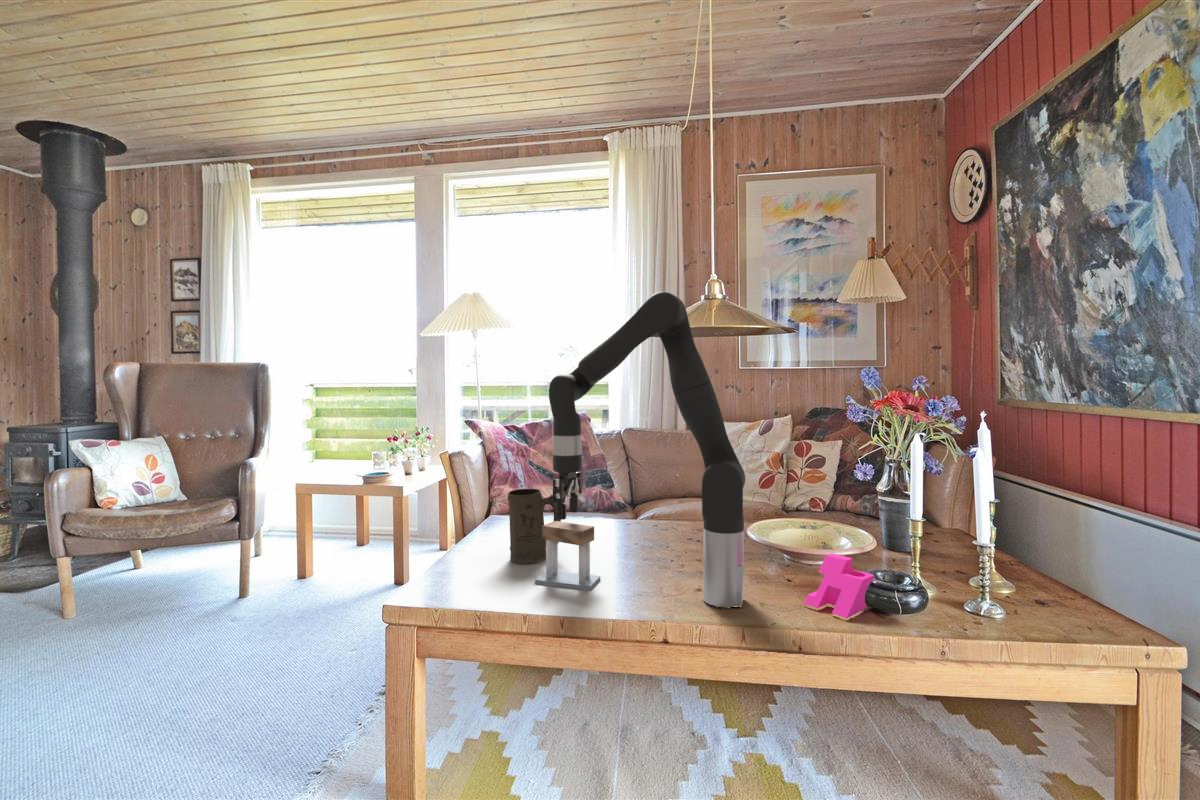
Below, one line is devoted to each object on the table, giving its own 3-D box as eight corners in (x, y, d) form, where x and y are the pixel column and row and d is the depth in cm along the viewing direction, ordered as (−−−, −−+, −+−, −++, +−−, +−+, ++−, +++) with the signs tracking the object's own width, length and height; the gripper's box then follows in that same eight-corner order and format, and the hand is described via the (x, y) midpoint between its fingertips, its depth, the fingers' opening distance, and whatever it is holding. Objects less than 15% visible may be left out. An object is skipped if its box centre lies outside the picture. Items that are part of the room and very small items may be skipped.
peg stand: (600, 579, 149) (600, 537, 149) (590, 590, 142) (590, 546, 141) (547, 573, 154) (547, 533, 154) (534, 583, 146) (534, 540, 146)
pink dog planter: (831, 595, 139) (831, 553, 139) (873, 608, 131) (874, 563, 131) (803, 607, 131) (804, 562, 131) (846, 622, 123) (847, 574, 123)
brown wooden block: (594, 540, 147) (594, 526, 147) (581, 545, 142) (581, 531, 142) (555, 533, 153) (555, 520, 153) (542, 539, 148) (542, 525, 148)
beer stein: (509, 566, 160) (509, 495, 159) (505, 555, 170) (505, 488, 170) (563, 562, 164) (563, 492, 164) (556, 551, 174) (556, 486, 174)
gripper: (571, 456, 139) (571, 522, 139) (590, 450, 152) (590, 510, 153) (542, 455, 141) (543, 520, 142) (564, 449, 155) (564, 508, 155)
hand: (568, 515), depth 147 cm, fingers open, 8 cm apart
